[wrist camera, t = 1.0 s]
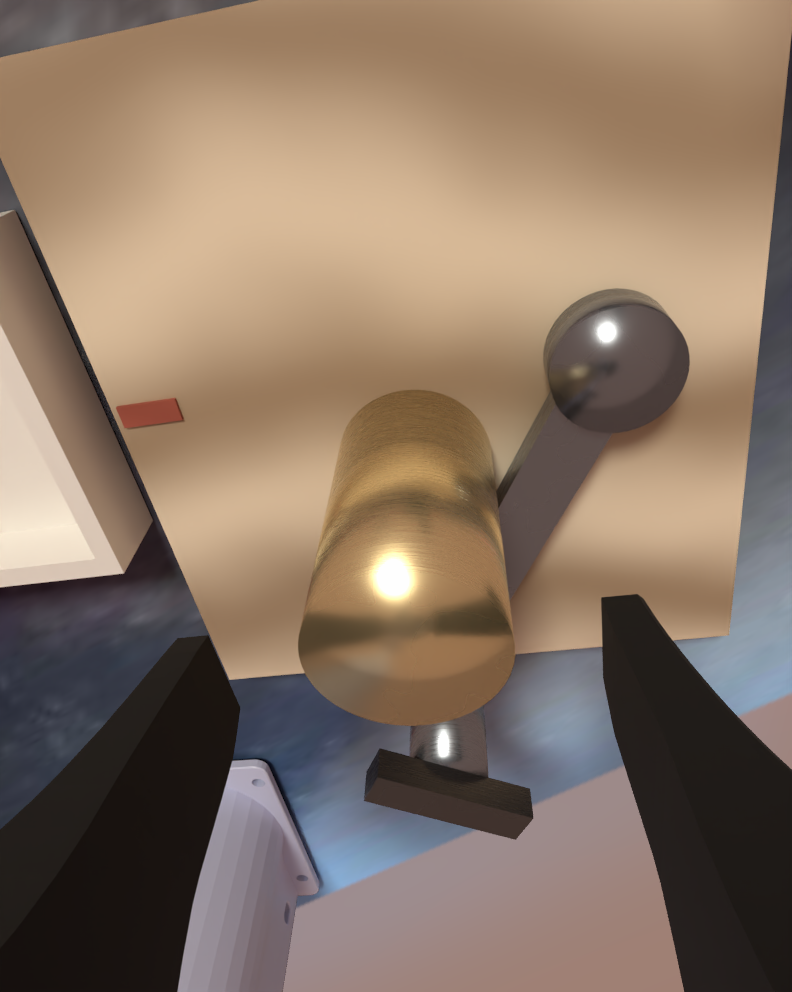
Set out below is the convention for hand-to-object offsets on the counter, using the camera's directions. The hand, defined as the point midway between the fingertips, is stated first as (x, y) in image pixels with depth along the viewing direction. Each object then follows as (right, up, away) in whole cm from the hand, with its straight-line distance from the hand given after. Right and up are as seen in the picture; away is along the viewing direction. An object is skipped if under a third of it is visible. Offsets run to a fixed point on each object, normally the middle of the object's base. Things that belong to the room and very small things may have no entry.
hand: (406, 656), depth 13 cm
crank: (+3, +3, +6) cm, 7 cm away
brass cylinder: (0, +4, +6) cm, 7 cm away
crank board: (+1, +6, +6) cm, 8 cm away
